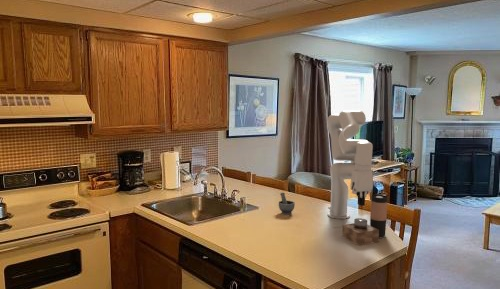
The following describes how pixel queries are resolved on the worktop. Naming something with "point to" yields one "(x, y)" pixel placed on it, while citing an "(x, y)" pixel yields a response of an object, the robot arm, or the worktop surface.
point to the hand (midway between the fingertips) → (361, 204)
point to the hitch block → (360, 234)
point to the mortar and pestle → (286, 205)
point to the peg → (360, 223)
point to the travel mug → (379, 213)
